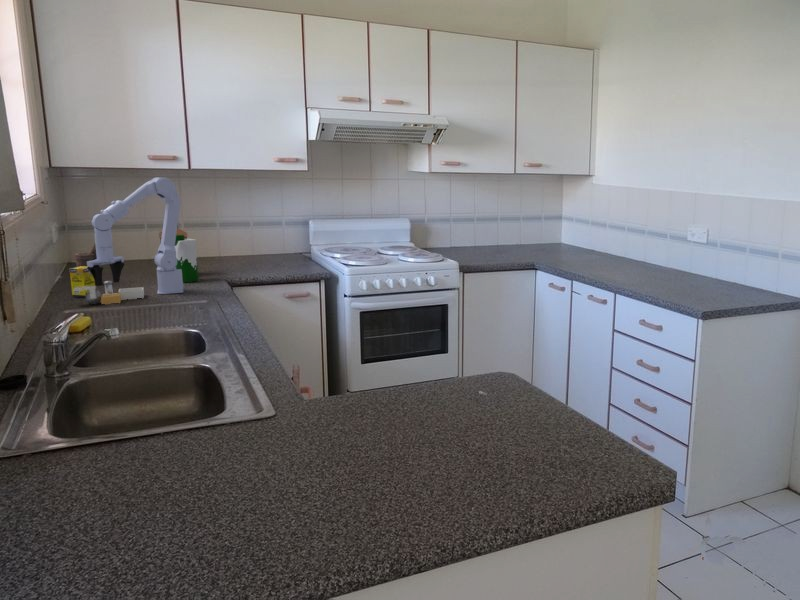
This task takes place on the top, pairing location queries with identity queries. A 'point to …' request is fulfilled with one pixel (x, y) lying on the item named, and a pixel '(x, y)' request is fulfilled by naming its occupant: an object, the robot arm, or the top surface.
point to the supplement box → (81, 280)
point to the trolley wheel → (90, 294)
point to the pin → (108, 287)
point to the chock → (110, 298)
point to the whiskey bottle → (177, 233)
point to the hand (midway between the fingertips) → (108, 283)
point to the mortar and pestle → (85, 257)
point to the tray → (131, 293)
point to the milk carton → (187, 258)
